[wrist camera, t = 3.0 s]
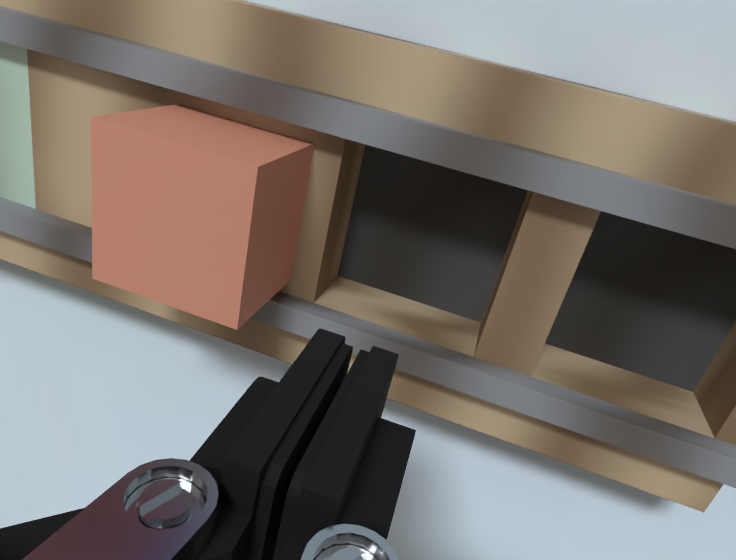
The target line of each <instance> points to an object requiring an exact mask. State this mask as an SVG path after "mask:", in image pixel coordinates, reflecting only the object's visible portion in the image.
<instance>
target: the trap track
mask: <svg viewBox="0 0 736 560" xmlns="http://www.w3.org/2000/svg"><path fill="white" fill-rule="evenodd" d="M176 104H178V105H181V106H185V107H188V108H192V109H195V110H199V111H202V112H206V113H209V114H213V115H216V116H219V117H223V118H226V119H230V120H233V121H237V122H240V123H244V124H247V125H251V126H254V127H258V128H261V129H265V130H268V131H272V132H275V133H279V134H282V135H286V136H289V137H293V138H296V139H300V140H303V141H307V142H310V143H314V147H313V153H312V159H311V165H310V171H309V176H308V182H307V188H306V194H305V200H304V206H303V211H302V217H301V223H300V229H299V235H298V241H297V247H296V252H295V258H294V264H293V270H292V276H291V280H290V281H289V282H288V283H287V284H286V285H285V286H284V287H283V288H282V289H280V290H279V291H278V292H277V293H276V294H275V295H274V296H273V297H272V298H271V299H270V300H269V301H268V302H267V303H265V304H264V305H263V306H262V307H261V308H260V309H259V310H258V311H257V312H256V313H255V314H254V315H253V316H251V317H250V318H249V319H248V320H247V321H246V322H245V323H244V324H243V325H242V326H241V327H240V328H239V329H238V330H236V329H233V328H230V327H227V326H224V325H222V324H219V323H216V322H213V321H210V320H208V319H205V318H202V317H199V316H196V315H194V314H191V313H188V312H185V311H182V310H179V309H177V308H174V307H171V306H168V305H165V304H163V303H160V302H157V301H154V300H151V299H148V298H146V297H143V296H140V295H137V294H134V293H132V292H129V291H126V290H123V289H120V288H118V287H115V286H112V285H109V284H106V283H103V282H101V281H98V280H95V279H92V170H91V117H93V116H100V115H107V114H114V113H121V112H128V111H134V110H141V109H148V108H155V107H162V106H169V105H176ZM0 259H2V260H4V261H7V262H10V263H13V264H15V265H18V266H21V267H24V268H27V269H29V270H32V271H35V272H38V273H40V274H43V275H46V276H49V277H52V278H54V279H57V280H60V281H63V282H65V283H68V284H71V285H74V286H77V287H79V288H82V289H85V290H88V291H90V292H93V293H96V294H99V295H102V296H104V297H107V298H110V299H113V300H115V301H118V302H121V303H124V304H127V305H129V306H132V307H135V308H138V309H140V310H143V311H146V312H149V313H152V314H154V315H157V316H160V317H163V318H165V319H168V320H171V321H174V322H177V323H179V324H182V325H185V326H188V327H190V328H193V329H196V330H199V331H202V332H204V333H207V334H210V335H213V336H215V337H218V338H221V339H224V340H226V341H229V342H232V343H235V344H238V345H240V346H243V347H246V348H249V349H251V350H254V351H257V352H260V353H263V354H265V355H268V356H271V357H274V358H276V359H279V360H282V361H285V362H288V363H290V364H293V363H294V361H295V360H296V359H297V357H298V356H299V355H300V353H301V352H302V350H303V349H304V348H305V346H306V345H307V344H308V342H309V341H310V340H311V338H312V337H313V335H314V334H315V333H316V331H317V330H318V329H319V328H321V329H324V330H327V331H330V332H333V333H336V334H339V335H342V336H345V338H346V339H345V344H347V345H350V346H353V352H352V356H351V360H350V364H349V368H348V371H349V370H350V368H351V366H352V364H353V362H354V360H355V358H356V356H357V355H358V353H359V351H360V349H362V350H365V351H368V352H370V350H371V348H372V346H376V347H379V348H382V349H385V350H388V351H391V352H394V353H397V354H399V357H398V360H397V364H396V367H395V371H394V374H393V378H392V381H391V385H390V388H389V392H388V395H387V398H388V399H390V400H393V401H396V402H399V403H401V404H404V405H407V406H410V407H413V408H415V409H418V410H421V411H424V412H426V413H429V414H432V415H435V416H438V417H440V418H443V419H446V420H449V421H451V422H454V423H457V424H460V425H463V426H465V427H468V428H471V429H474V430H476V431H479V432H482V433H485V434H488V435H490V436H493V437H496V438H499V439H501V440H504V441H507V442H510V443H513V444H515V445H518V446H521V447H524V448H526V449H529V450H532V451H535V452H538V453H540V454H543V455H546V456H549V457H551V458H554V459H557V460H560V461H563V462H565V463H568V464H571V465H574V466H576V467H579V468H582V469H585V470H588V471H590V472H593V473H596V474H599V475H601V476H604V477H607V478H610V479H613V480H615V481H618V482H621V483H624V484H626V485H629V486H632V487H635V488H638V489H640V490H643V491H646V492H649V493H651V494H654V495H657V496H660V497H663V498H665V499H668V500H671V501H674V502H676V503H679V504H682V505H685V506H688V507H690V508H693V509H696V510H699V511H701V512H704V511H705V510H706V509H707V507H708V506H709V504H710V503H711V501H712V500H713V498H714V497H715V496H716V494H717V493H718V491H719V490H720V488H721V487H722V485H723V484H725V485H728V486H731V487H734V488H736V122H733V121H729V120H725V119H721V118H716V117H712V116H708V115H704V114H700V113H696V112H692V111H688V110H684V109H680V108H676V107H672V106H668V105H664V104H660V103H656V102H652V101H648V100H644V99H640V98H635V97H631V96H627V95H623V94H619V93H615V92H611V91H607V90H603V89H599V88H595V87H591V86H587V85H583V84H579V83H575V82H571V81H567V80H563V79H559V78H555V77H550V76H546V75H542V74H538V73H534V72H530V71H526V70H522V69H518V68H514V67H510V66H506V65H502V64H498V63H494V62H490V61H486V60H482V59H478V58H474V57H469V56H465V55H461V54H457V53H453V52H449V51H445V50H441V49H437V48H433V47H429V46H425V45H421V44H417V43H413V42H409V41H405V40H401V39H397V38H393V37H389V36H384V35H380V34H376V33H372V32H368V31H364V30H360V29H356V28H352V27H348V26H344V25H340V24H336V23H332V22H328V21H324V20H320V19H316V18H312V17H308V16H303V15H299V14H295V13H291V12H287V11H283V10H279V9H275V8H271V7H267V6H263V5H259V4H255V3H251V2H247V1H243V0H0ZM347 373H348V372H347Z"/></svg>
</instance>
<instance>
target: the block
mask: <svg viewBox="0 0 736 560" xmlns="http://www.w3.org/2000/svg"><path fill="white" fill-rule="evenodd" d="M313 147H314V143H310V142H307V141H303V140H300V139H296V138H293V137H289V136H286V135H282V134H279V133H275V132H272V131H268V130H265V129H261V128H258V127H254V126H251V125H247V124H244V123H240V122H237V121H233V120H230V119H226V118H223V117H219V116H216V115H213V114H209V113H206V112H202V111H199V110H195V109H192V108H188V107H185V106H181V105H178V104H176V105H169V106H162V107H155V108H148V109H141V110H134V111H128V112H121V113H114V114H107V115H100V116H93V117H91V170H92V279H95V280H98V281H101V282H103V283H106V284H109V285H112V286H115V287H118V288H120V289H123V290H126V291H129V292H132V293H134V294H137V295H140V296H143V297H146V298H148V299H151V300H154V301H157V302H160V303H163V304H165V305H168V306H171V307H174V308H177V309H179V310H182V311H185V312H188V313H191V314H194V315H196V316H199V317H202V318H205V319H208V320H210V321H213V322H216V323H219V324H222V325H224V326H227V327H230V328H233V329H236V330H238V329H239V328H240V327H241V326H242V325H243V324H244V323H245V322H246V321H247V320H248V319H249V318H250V317H251V316H253V315H254V314H255V313H256V312H257V311H258V310H259V309H260V308H261V307H262V306H263V305H264V304H265V303H267V302H268V301H269V300H270V299H271V298H272V297H273V296H274V295H275V294H276V293H277V292H278V291H279V290H280V289H282V288H283V287H284V286H285V285H286V284H287V283H288V282H289V281H290V280H291V276H292V270H293V264H294V258H295V252H296V247H297V241H298V235H299V229H300V223H301V217H302V211H303V206H304V200H305V194H306V188H307V182H308V176H309V171H310V165H311V159H312V153H313Z"/></svg>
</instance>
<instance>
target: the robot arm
mask: <svg viewBox="0 0 736 560" xmlns="http://www.w3.org/2000/svg"><path fill="white" fill-rule="evenodd" d="M345 339H346V338H345V336H342V335H339V334H336V333H333V332H330V331H327V330H324V329H321V328H319V329H318V330H317V331H316V333H315V334H314V335H313V337H312V338H311V340H310V341H309V342H308V344H307V345H306V346H305V348H304V349H303V350H302V352H301V353H300V355H299V356H298V357H297V359H296V360H295V361H294V363H293V364H292V365H291V367H290V368H289V370H288V371H287V372H286V374H285V375H284V376H283V378H282V379H281V381H280V382H279V383H278V382H276V381H273V380H270V379H267V378H264V377H258V378H257V379H256V380H255V381H254V382H253V383H252V385H251V386H250V387H249V388H248V389H247V391H246V392H245V393H244V394H243V396H242V397H241V398H240V399H239V401H238V402H237V403H236V404H235V405H234V407H233V408H232V409H231V410H230V412H229V413H228V414H227V415H226V417H225V418H224V419H223V420H222V421H221V423H220V424H219V425H218V426H217V428H216V429H215V430H214V431H213V433H212V434H211V435H210V436H209V437H208V439H207V440H206V441H205V442H204V444H203V445H202V446H201V447H200V449H199V450H198V451H197V452H196V453H195V455H194V456H193V457H192V458H191V460H190V461H188V460H183V459H174V458H169V459H160V460H154V461H151V462H148V463H145V464H142V465H140V466H138V467H137V468H135V469H134V470H132V471H130V472H129V473H127V474H126V475H125V476H124V477H122V478H121V479H120V480H119V481H117V482H116V483H115V484H114V485H113V486H111V487H110V488H109V489H108V490H106V491H105V492H104V493H103V494H102V495H100V496H99V497H98V498H97V499H95V500H94V501H93V502H92V503H91V504H89V505H88V506H87V507H86V508H83V509H78V510H74V511H70V512H66V513H62V514H58V515H54V516H50V517H46V518H42V519H38V520H33V521H29V522H25V523H21V524H17V525H13V526H9V527H5V528H1V529H0V560H400V558H399V556H398V554H397V552H396V551H395V549H394V548H393V547H392V546H391V545H390V543H389V542H388V541H387V536H388V532H389V529H390V525H391V521H392V518H393V514H394V510H395V506H396V503H397V499H398V495H399V492H400V488H401V484H402V480H403V477H404V473H405V469H406V466H407V462H408V458H409V454H410V451H411V447H412V443H413V440H414V436H415V432H416V430H413V429H411V428H408V427H405V426H402V425H399V424H396V423H393V422H390V421H388V420H385V419H382V418H381V416H382V412H383V409H384V405H385V402H386V399H387V395H388V392H389V388H390V385H391V381H392V378H393V374H394V371H395V367H396V364H397V360H398V357H399V354H397V353H394V352H391V351H388V350H385V349H382V348H379V347H376V346H372V348H371V350H370V352H368V351H365V350H362V349H360V351H359V353H358V355H357V356H356V358H355V360H354V362H353V364H352V366H351V368H350V370H349V371H348V368H349V364H350V360H351V356H352V352H353V346H350V345H347V344H345ZM347 372H348V373H347Z"/></svg>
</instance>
